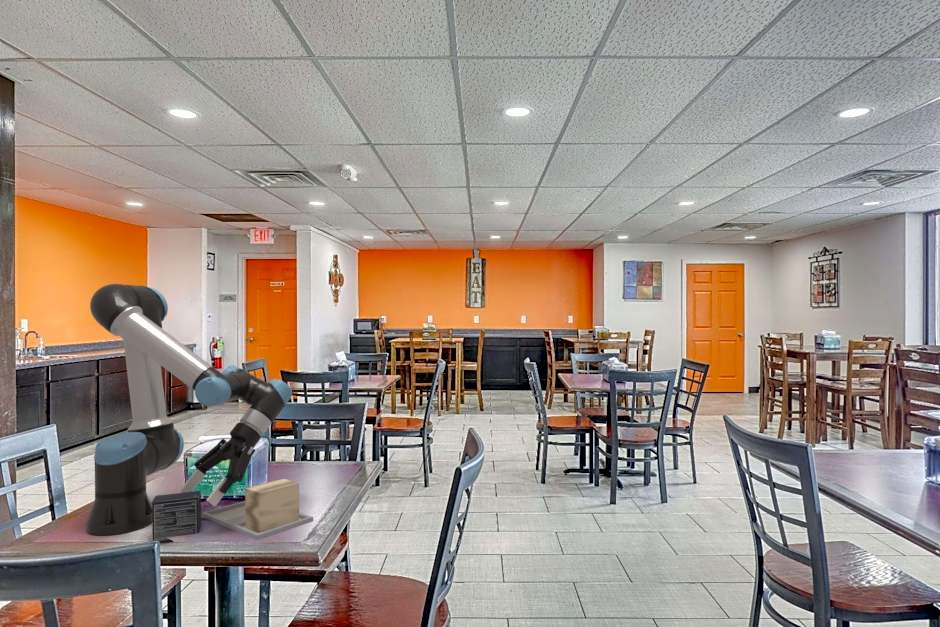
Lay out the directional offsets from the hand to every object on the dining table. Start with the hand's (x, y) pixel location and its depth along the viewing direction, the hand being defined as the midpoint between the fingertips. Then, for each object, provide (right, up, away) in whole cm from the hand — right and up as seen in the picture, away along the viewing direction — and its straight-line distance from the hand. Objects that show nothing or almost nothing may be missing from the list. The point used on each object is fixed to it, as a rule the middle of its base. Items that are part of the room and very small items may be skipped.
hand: (196, 498), depth 144 cm
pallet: (+13, -9, +6) cm, 17 cm away
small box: (-4, -9, -3) cm, 10 cm away
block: (+19, -7, +2) cm, 20 cm away
